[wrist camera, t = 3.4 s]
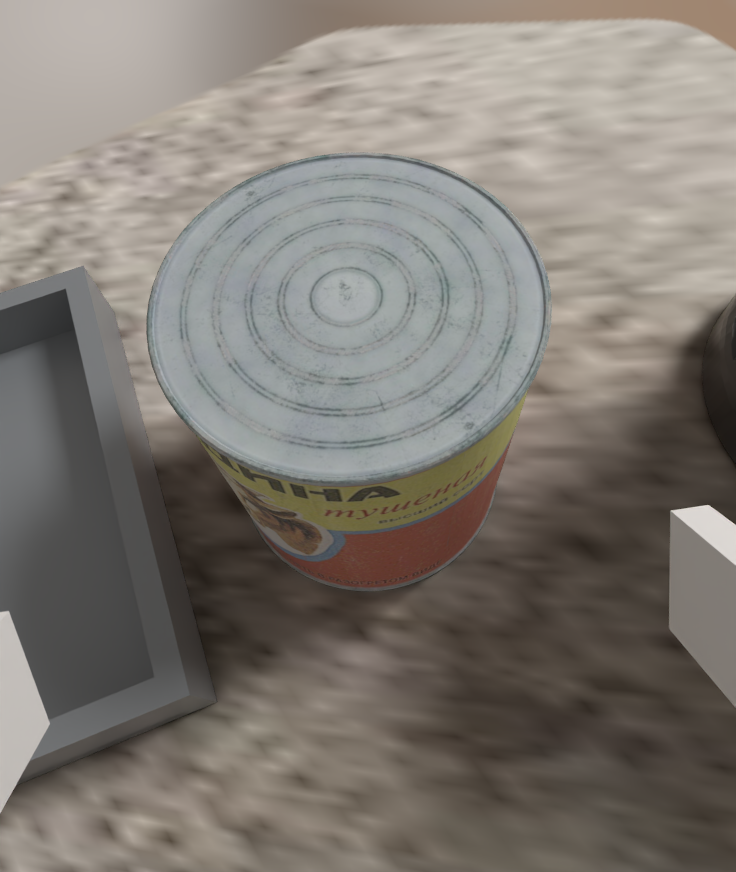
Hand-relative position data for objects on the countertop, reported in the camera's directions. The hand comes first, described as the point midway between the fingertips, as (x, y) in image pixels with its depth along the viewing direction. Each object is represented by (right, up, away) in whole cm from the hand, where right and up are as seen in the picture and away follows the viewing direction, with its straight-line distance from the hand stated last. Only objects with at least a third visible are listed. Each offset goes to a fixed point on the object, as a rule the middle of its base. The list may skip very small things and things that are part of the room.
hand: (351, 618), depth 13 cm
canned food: (0, +2, +16) cm, 16 cm away
